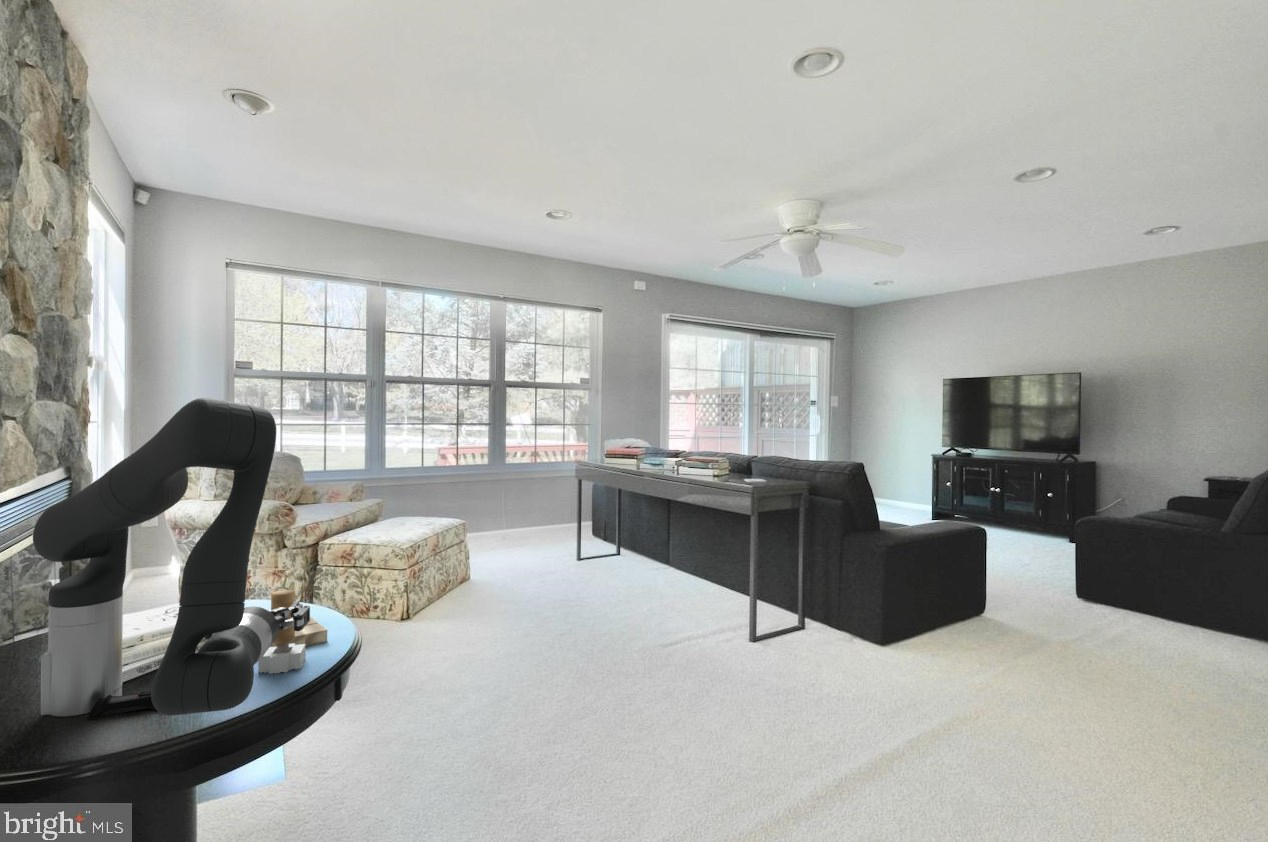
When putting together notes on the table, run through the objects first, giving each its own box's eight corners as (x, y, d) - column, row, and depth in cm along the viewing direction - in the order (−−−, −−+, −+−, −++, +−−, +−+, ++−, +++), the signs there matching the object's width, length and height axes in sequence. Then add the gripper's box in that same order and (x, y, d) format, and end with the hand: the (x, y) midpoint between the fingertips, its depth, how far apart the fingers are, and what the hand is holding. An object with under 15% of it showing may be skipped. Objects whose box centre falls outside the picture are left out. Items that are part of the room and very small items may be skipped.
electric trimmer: (204, 707, 104) (204, 687, 104) (85, 722, 98) (86, 702, 98) (209, 698, 107) (209, 679, 107) (94, 712, 101) (95, 692, 101)
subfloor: (215, 665, 120) (215, 652, 120) (204, 648, 129) (204, 636, 129) (327, 641, 133) (327, 629, 133) (310, 627, 142) (310, 616, 142)
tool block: (256, 675, 116) (257, 658, 116) (266, 661, 122) (266, 645, 122) (299, 670, 118) (299, 654, 118) (306, 657, 124) (306, 642, 124)
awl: (268, 671, 118) (268, 596, 118) (273, 663, 121) (274, 590, 121) (292, 668, 119) (292, 594, 119) (296, 661, 123) (297, 589, 123)
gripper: (296, 609, 96) (315, 584, 112) (187, 619, 92) (222, 591, 107) (296, 658, 96) (315, 626, 111) (187, 670, 92) (222, 635, 107)
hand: (269, 609), depth 109 cm, fingers open, 8 cm apart
